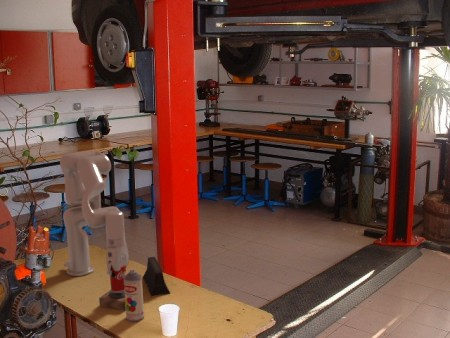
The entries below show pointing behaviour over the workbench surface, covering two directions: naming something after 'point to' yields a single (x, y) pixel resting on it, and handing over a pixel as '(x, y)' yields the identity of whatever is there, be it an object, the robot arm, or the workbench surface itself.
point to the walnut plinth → (113, 300)
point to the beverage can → (118, 280)
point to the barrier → (155, 278)
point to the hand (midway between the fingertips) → (118, 283)
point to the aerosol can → (133, 296)
